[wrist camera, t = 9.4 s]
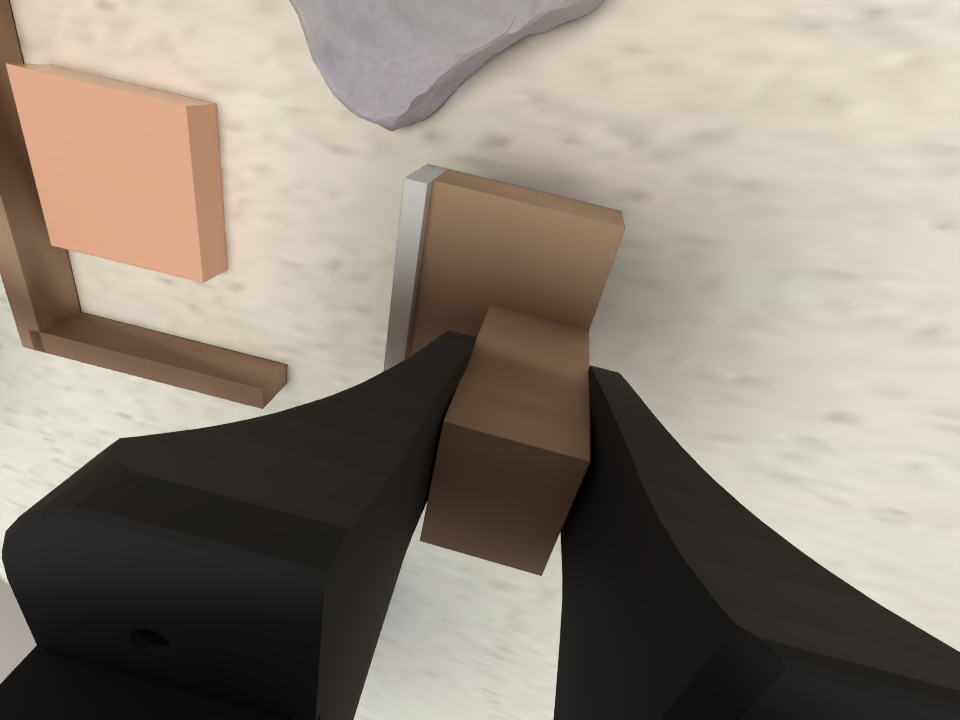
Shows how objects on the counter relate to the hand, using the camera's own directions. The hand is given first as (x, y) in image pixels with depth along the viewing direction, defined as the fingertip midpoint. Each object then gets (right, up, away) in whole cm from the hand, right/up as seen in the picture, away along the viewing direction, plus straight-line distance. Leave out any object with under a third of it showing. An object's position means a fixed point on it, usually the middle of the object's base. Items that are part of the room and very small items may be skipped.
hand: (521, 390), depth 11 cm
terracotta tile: (-13, +8, +8) cm, 17 cm away
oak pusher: (-1, +1, +3) cm, 4 cm away
